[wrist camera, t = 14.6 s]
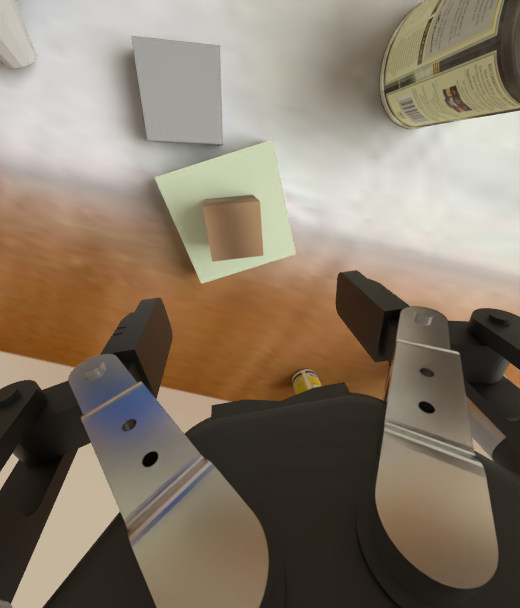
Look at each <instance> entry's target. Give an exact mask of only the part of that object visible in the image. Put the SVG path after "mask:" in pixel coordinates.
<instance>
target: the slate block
mask: <svg viewBox="0 0 520 608" xmlns="http://www.w3.org/2000/svg"><path fill="white" fill-rule="evenodd" d="M131 37H132V44H133V50H134V57H135V63H136V70H137V76H138V83H139V90H140V96H141V103H142V109H143V116H144V122H145V129H146V135H147V140H149V141H152V142H165V143H185V144H205V145H223V134H222V100H221V67H220V46H219V45H210V44H201V43H192V42H182V41H173V40H164V39H154V38H145V37H136V36H131Z"/></svg>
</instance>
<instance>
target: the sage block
mask: <svg viewBox="0 0 520 608" xmlns="http://www.w3.org/2000/svg"><path fill="white" fill-rule="evenodd" d="M154 178H155V180H156V183H157V185H158V187H159V189H160V192H161V194H162V196H163V198H164V201H165V203H166V205H167V207H168V210H169V212H170V214H171V216H172V219H173V221H174V223H175V226H176V228H177V230H178V232H179V235H180V237H181V239H182V241H183V244H184V246H185V248H186V250H187V253H188V255H189V257H190V259H191V262H192V264H193V266H194V268H195V271H196V273H197V275H198V277H199V280H200V282H201V284H202V283H205V282H208V281H212V280H215V279H218V278H221V277H224V276H228V275H231V274H234V273H237V272H240V271H243V270H247V269H250V268H253V267H256V266H259V265H262V264H266V263H269V262H272V261H275V260H278V259H282V258H285V257H288V256H291V255H294V254H296V252H295V247H294V242H293V237H292V232H291V227H290V223H289V218H288V213H287V208H286V203H285V198H284V193H283V189H282V184H281V179H280V174H279V169H278V164H277V159H276V154H275V150H274V145H273V140H269V141H266V142H263V143H260V144H257V145H254V146H250V147H247V148H244V149H241V150H238V151H235V152H232V153H229V154H225V155H222V156H219V157H216V158H213V159H210V160H207V161H204V162H200V163H197V164H194V165H191V166H188V167H185V168H182V169H179V170H176V171H172V172H169V173H166V174H163V175H160V176H157V177H154ZM244 195H254V196H255V197H256V198H257V199H258V200H259V201H260V209H261V225H262V240H263V256H257V257H248V258H239V259H231V260H222V261H214V262H212V258H211V252H210V246H209V240H208V235H207V229H206V223H205V217H204V211H203V204H204V201H205V199H212V198H223V197H233V196H244Z"/></svg>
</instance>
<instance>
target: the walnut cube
mask: <svg viewBox="0 0 520 608" xmlns="http://www.w3.org/2000/svg"><path fill="white" fill-rule="evenodd" d="M203 211H204V217H205V223H206V229H207V235H208V240H209V246H210V252H211V258H212V262H214V261H222V260H231V259H239V258H248V257H257V256H263V240H262V225H261V209H260V201H259V200H258V199H257V198H256V197H255V196H254V195H244V196H233V197H223V198H212V199H205V201H204V204H203Z"/></svg>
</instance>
